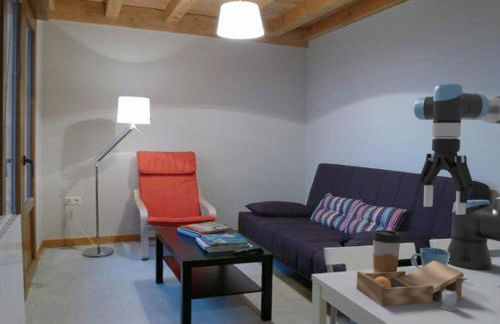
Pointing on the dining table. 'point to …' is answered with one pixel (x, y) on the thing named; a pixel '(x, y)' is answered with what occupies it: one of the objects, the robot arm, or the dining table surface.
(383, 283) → the ball
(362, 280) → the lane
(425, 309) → the dining table surface
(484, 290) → the dining table surface
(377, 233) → the coffee cup
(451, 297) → the tee
